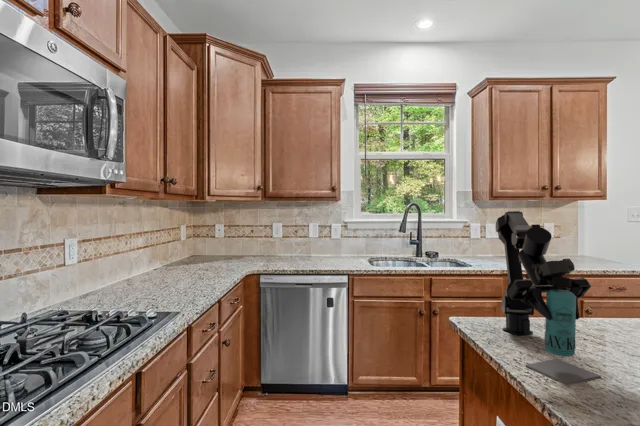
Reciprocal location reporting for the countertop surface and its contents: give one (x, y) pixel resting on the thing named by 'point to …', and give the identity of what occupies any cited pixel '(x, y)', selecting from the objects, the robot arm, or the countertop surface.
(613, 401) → the countertop surface
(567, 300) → the beverage bottle
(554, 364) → the mat
